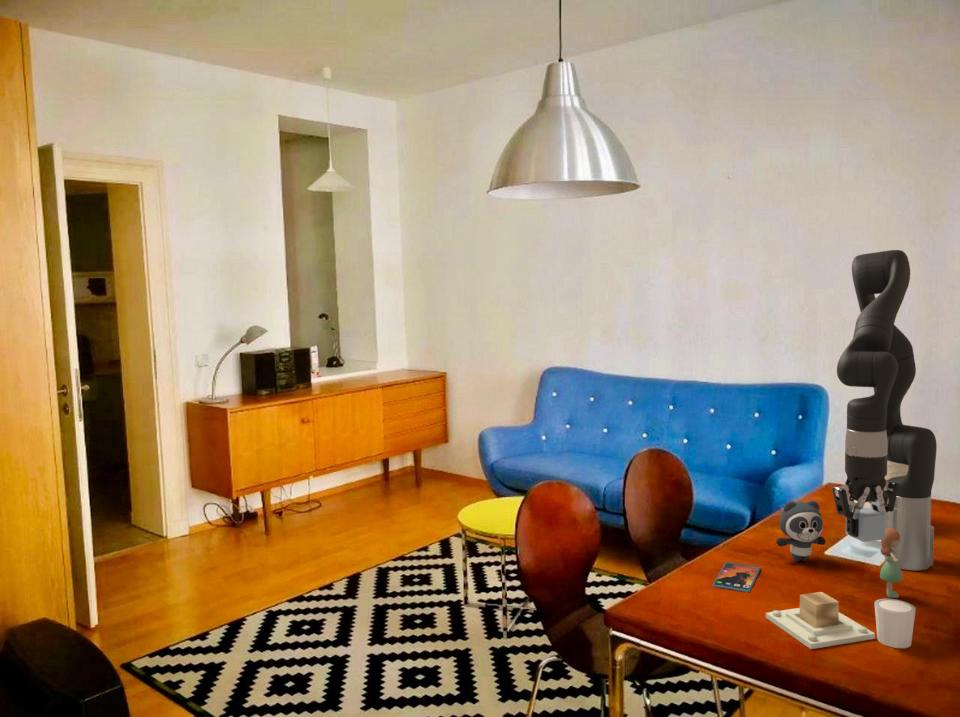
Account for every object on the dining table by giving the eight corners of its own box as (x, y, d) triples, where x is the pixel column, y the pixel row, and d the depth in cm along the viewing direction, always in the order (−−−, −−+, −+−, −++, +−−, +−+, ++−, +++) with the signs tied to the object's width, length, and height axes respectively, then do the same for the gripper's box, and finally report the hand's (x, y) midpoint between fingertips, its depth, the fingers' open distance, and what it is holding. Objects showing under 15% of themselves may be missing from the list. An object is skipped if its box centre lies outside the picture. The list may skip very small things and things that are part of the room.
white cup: (865, 634, 146) (866, 599, 145) (899, 631, 146) (900, 596, 146) (887, 651, 139) (888, 614, 138) (923, 648, 139) (924, 612, 139)
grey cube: (866, 531, 155) (867, 507, 154) (885, 539, 150) (885, 514, 149) (845, 533, 154) (845, 510, 153) (863, 541, 149) (863, 517, 148)
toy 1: (786, 570, 178) (787, 508, 176) (769, 554, 188) (769, 496, 187) (835, 568, 178) (836, 506, 177) (815, 553, 188) (816, 494, 187)
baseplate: (825, 608, 157) (825, 600, 157) (874, 638, 144) (875, 629, 144) (765, 617, 154) (765, 609, 154) (810, 649, 141) (810, 639, 140)
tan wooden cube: (821, 615, 152) (821, 591, 151) (838, 626, 147) (838, 601, 147) (799, 619, 151) (799, 594, 150) (816, 629, 146) (816, 605, 145)
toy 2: (909, 610, 155) (911, 539, 154) (886, 608, 156) (887, 538, 155) (894, 585, 168) (896, 519, 166) (873, 583, 169) (874, 518, 168)
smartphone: (711, 585, 170) (725, 561, 183) (711, 590, 170) (725, 566, 183) (749, 590, 166) (761, 565, 179) (749, 595, 166) (761, 570, 179)
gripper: (882, 444, 155) (881, 524, 157) (822, 450, 152) (821, 532, 154) (911, 452, 148) (909, 536, 150) (848, 458, 145) (847, 544, 147)
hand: (865, 533), depth 152 cm, fingers closed on grey cube, 5 cm apart
